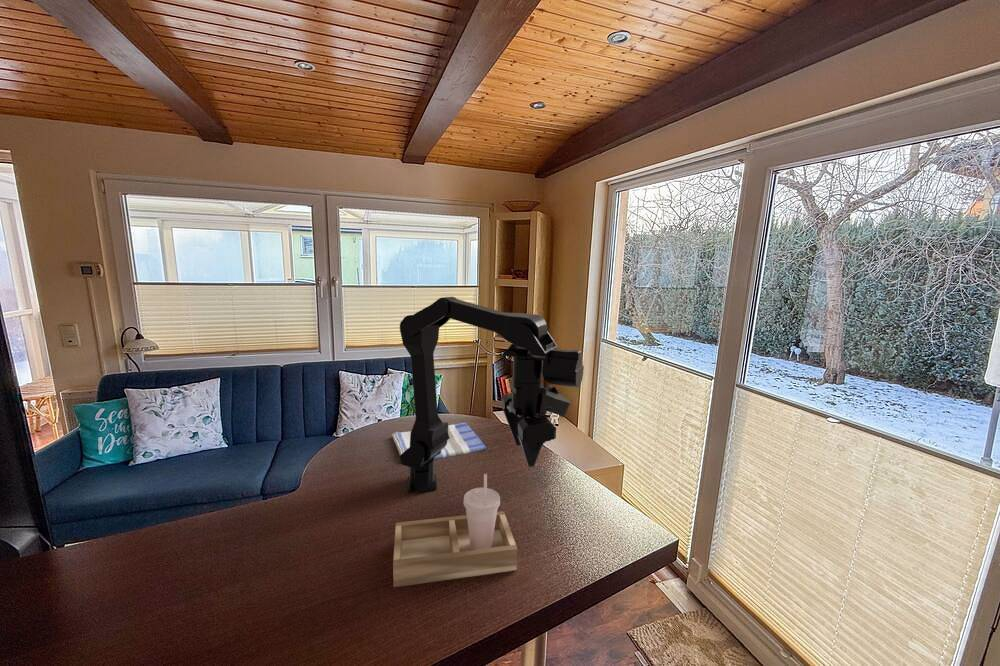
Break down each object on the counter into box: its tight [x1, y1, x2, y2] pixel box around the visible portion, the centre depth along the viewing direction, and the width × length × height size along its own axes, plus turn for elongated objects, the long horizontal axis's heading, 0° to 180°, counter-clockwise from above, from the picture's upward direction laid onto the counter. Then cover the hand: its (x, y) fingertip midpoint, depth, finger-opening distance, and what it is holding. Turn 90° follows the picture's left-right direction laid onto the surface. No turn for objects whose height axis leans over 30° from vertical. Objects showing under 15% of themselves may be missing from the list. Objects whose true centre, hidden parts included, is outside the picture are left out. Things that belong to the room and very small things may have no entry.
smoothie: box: [463, 473, 501, 550], centre depth 70 cm, size 6×6×14 cm
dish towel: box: [391, 422, 487, 460], centre depth 114 cm, size 17×24×3 cm
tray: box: [392, 511, 518, 588], centre depth 70 cm, size 10×20×4 cm, turn 102°
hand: (524, 455), depth 81 cm, fingers open, 9 cm apart
